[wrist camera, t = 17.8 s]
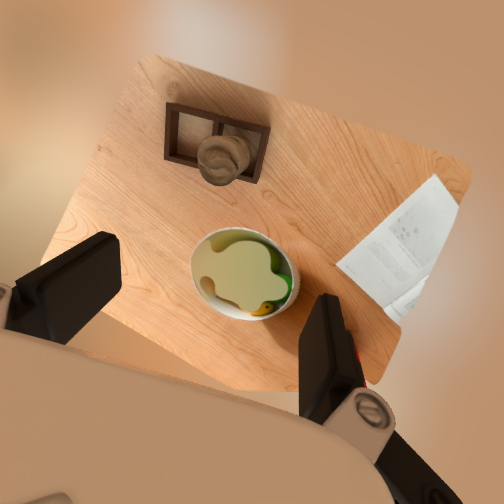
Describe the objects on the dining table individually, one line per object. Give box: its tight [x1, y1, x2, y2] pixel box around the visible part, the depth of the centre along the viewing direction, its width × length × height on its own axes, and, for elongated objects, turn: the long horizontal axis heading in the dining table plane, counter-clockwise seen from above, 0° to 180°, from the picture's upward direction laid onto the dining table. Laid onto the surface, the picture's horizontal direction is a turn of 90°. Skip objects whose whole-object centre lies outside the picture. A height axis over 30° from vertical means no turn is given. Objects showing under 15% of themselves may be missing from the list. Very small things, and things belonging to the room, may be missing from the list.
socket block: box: [164, 102, 271, 184], centre depth 40 cm, size 16×8×3 cm, turn 77°
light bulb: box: [197, 135, 252, 186], centre depth 34 cm, size 6×6×15 cm
